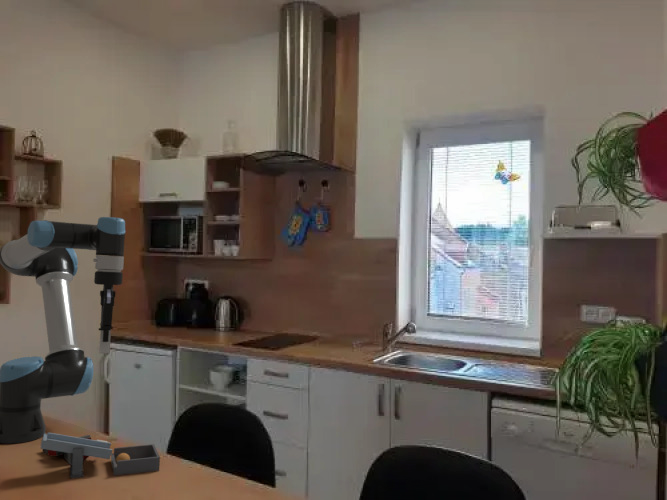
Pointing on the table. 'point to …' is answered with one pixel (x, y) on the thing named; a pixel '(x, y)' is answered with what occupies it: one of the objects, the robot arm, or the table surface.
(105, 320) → the robot arm
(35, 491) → the table surface
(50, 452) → the toy
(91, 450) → the rimmed blue-grey trough
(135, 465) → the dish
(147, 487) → the table surface
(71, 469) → the stand
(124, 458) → the ball
